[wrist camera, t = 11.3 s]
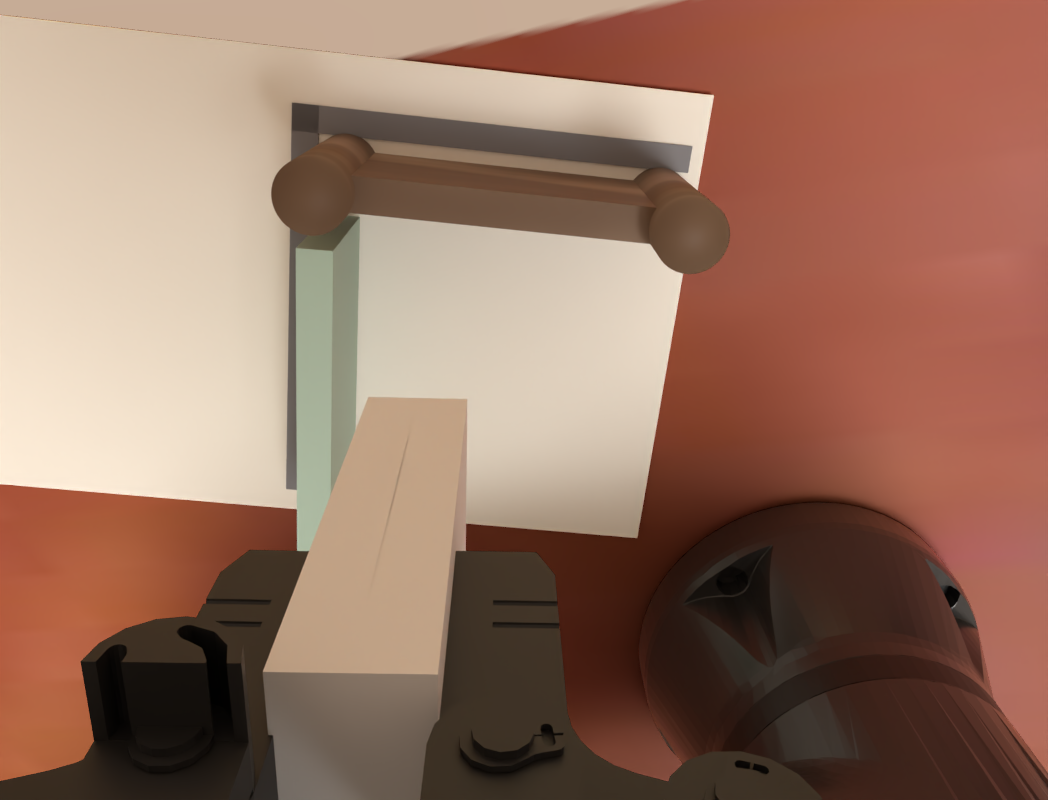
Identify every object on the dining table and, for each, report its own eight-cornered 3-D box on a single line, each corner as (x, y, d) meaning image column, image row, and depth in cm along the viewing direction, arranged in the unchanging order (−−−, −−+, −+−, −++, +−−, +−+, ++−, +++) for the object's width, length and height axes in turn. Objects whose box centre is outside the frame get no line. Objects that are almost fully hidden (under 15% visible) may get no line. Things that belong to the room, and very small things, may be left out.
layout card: (636, 534, 42) (637, 539, 42) (-36, 477, 40) (-41, 481, 40) (712, 94, 35) (714, 95, 35) (-96, 3, 33) (-103, 3, 33)
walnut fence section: (681, 230, 37) (722, 277, 30) (316, 192, 36) (270, 231, 29) (691, 169, 36) (736, 203, 29) (317, 129, 35) (271, 153, 28)
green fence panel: (360, 216, 36) (333, 251, 30) (354, 494, 40) (329, 569, 34) (328, 214, 36) (295, 248, 30) (326, 492, 40) (297, 567, 34)
